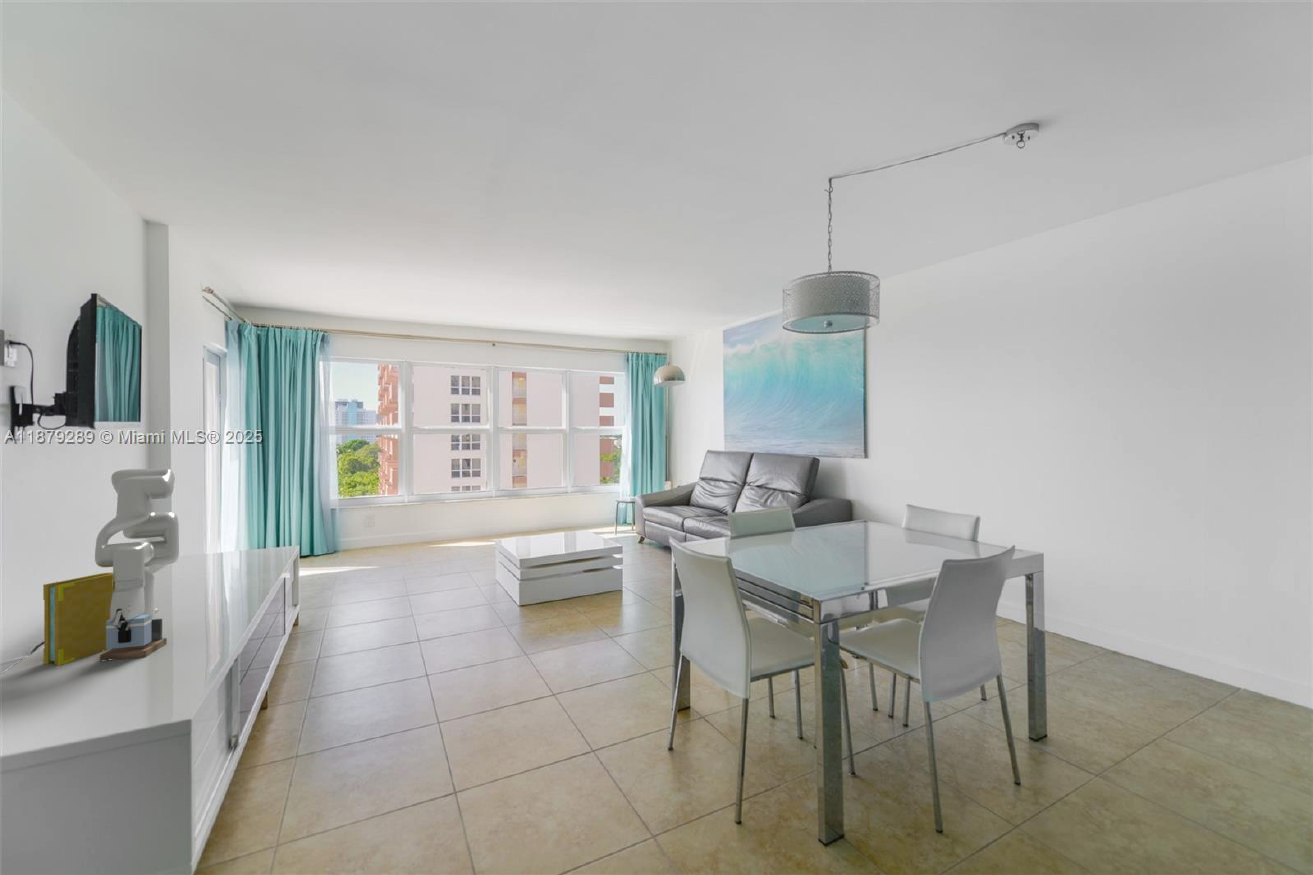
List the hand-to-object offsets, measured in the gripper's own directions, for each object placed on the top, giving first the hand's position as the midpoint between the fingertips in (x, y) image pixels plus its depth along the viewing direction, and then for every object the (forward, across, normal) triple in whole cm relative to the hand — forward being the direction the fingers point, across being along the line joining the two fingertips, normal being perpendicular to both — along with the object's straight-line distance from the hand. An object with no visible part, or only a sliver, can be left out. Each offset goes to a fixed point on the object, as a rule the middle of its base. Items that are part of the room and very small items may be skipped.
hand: (129, 639), depth 182 cm
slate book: (+2, 0, 0) cm, 2 cm away
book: (+5, -6, -15) cm, 17 cm away
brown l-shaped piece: (+5, -3, 0) cm, 6 cm away
